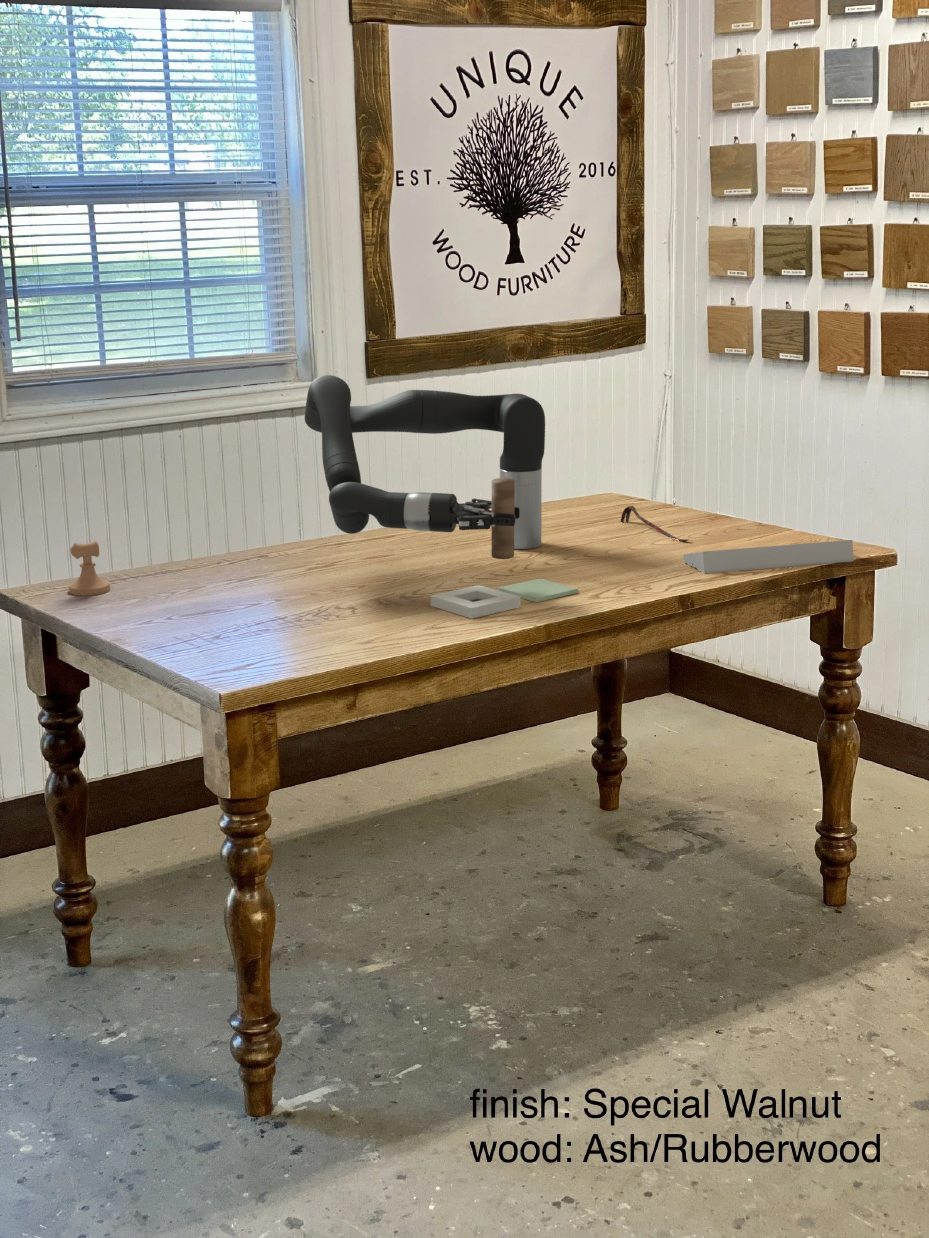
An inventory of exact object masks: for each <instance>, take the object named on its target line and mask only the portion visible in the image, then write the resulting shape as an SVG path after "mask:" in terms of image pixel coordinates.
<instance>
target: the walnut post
mask: <svg viewBox="0 0 929 1238" xmlns="http://www.w3.org/2000/svg"><path fill="white" fill-rule="evenodd" d="M514 497H515V481H514V480H513V479H509V478H500V477H498V478H493V479H492V480H491V501H492V509H491V511H492V513H495V515H496V513H500V514H514ZM514 557H515V549H514V526H500V525H496V524H495V526H494V527H491V558H493V559H496V560H509V559H512V558H514Z"/></svg>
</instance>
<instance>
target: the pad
mask: <svg viewBox="0 0 929 1238" xmlns="http://www.w3.org/2000/svg"><path fill="white" fill-rule="evenodd" d="M497 590H498V591H502V592H505V593H509V594H512V595H516V596H519V597H520V599H523V600H527V601H530V602H533V603H539V602H544V601H549V600H552V599H556V598H561V597H565V596H569V595H574V594H578V593H579V588H577V587H573V586H569V585H567V584H562V583H559V582H555V581H551V580H549V579H547V580H546V579H543V578H540V577H539V578H536V579H531V580H527V581H522V582H518V583H513V584H509V585H504V586H499V587H498V589H497Z"/></svg>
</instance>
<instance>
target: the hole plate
mask: <svg viewBox="0 0 929 1238" xmlns="http://www.w3.org/2000/svg"><path fill="white" fill-rule="evenodd" d="M430 606H431V607H433V608H437V609H440V610H443V611H446V612H448V613H453V614H456V615H459V616H462V617H466V618H469V619H471V620H472V619H475V618H480V617H485V616H488V615H493V614H496V613H502V612H505V611H509V610H515V609H518V608H521V598H520V597H519V596H516V595H512V594H509V593H505V592H502V591H498V589H496V588H495V589H494V588H491V587H487V586H483V585H480V584H478V585H477V584H476V585H472V586H469V587H464V588H460V589H455V590H451V591H446V592H445V591H444V592H442V593H441V592H440V593H437V594H432V595H430Z"/></svg>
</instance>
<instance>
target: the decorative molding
mask: <svg viewBox="0 0 929 1238" xmlns="http://www.w3.org/2000/svg"><path fill="white" fill-rule="evenodd" d="M853 546H854V545H853V539H848V540H846V539H844V540H834V541H832V540H830V541H821V542H819V541H818V542H807V543H795V544H784V545H783V544H781V545H770V546H757V547H756V546H755V547H746V548H745V547H744V548H733V549H732V548H731V549H729V548H728V549H720V550H718V549H716V550H706V551H698V552H690V553H683V554H682V557H683V562H685V563H687V566H689V565H691V566H693V567H694V568H696V569H697V571H698V570H700V571H701V572H700V571H699V572H700V573H702V572H703V573H702V574H704V573H707V574H715V573H714V572H718V573H732V572H739V571H753V570H766V569H767V570H768V569H778V568H779V569H780V568H781V569H782V568H789V567H802V566H814V565H826V564H827V565H828V564H837V563H850V562H851V563H852V562H854V561H855V557H854V547H853ZM685 563H684V564H685ZM691 566H690V567H691ZM693 567H692V568H693Z"/></svg>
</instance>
